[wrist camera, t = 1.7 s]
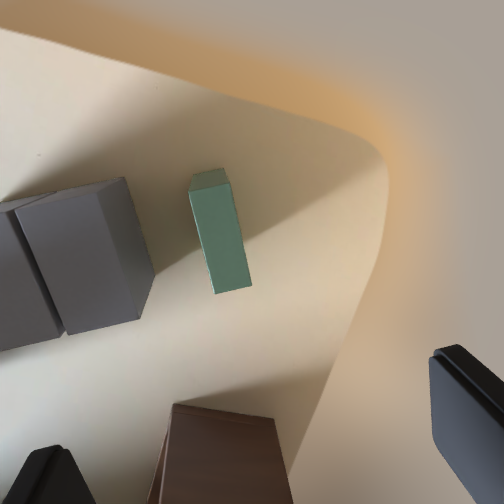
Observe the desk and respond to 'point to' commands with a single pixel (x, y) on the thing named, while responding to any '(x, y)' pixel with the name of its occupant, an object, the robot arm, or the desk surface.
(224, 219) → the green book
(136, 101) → the desk surface
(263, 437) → the book rack
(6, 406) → the desk surface
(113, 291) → the grey blocks
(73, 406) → the desk surface
